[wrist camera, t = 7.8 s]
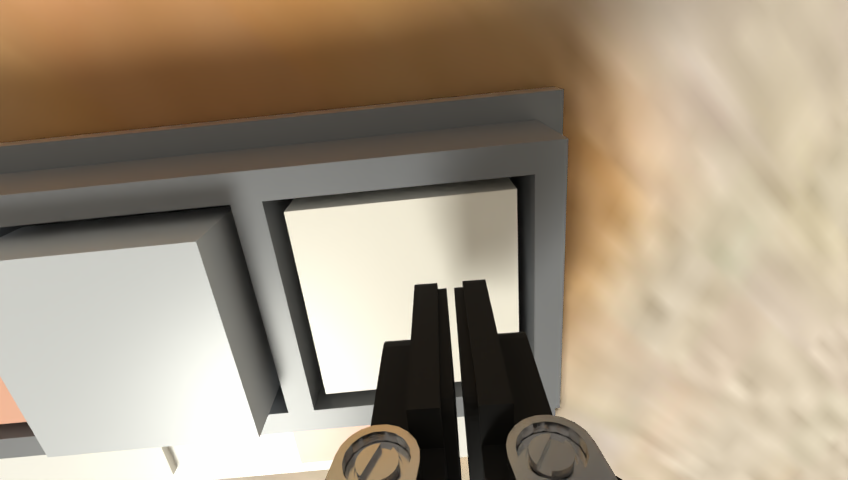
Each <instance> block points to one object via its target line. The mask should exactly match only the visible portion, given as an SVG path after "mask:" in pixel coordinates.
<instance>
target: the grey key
mask: <svg viewBox="0 0 848 480" xmlns="http://www.w3.org/2000/svg"><path fill="white" fill-rule="evenodd" d="M0 377H1V379H2V380H3V382H4V384H5V385H6V387H7V389H8V391H9V392H10V394H11V396H12V397H13V399H14V401H15V402H16V404H17V406H18V408H19V409H20V411H21V413H22V414H23V416H24V418H25V419H26V421H27V423H28V425H29V426H30V428H31V430H32V431H33V433H34V435H35V436H36V438H37V440H38V442H39V443H40V445H41V447H42V448H43V450H44V452H45V454H46V455H47V457H57V456H68V455H79V454H90V453H101V452H112V451H123V450H133V449H144V448H155V447H166V446H177V445H188V444H199V443H210V442H221V441H232V440H243V439H254V438H260V435H261V433H262V430H263V427H264V425H265V422H266V420H267V417H268V415H269V412H270V409H271V407H272V404H273V402H274V399H275V397H276V394H277V391H278V389H279V386H280V381H279V377H278V374H277V370H276V367H275V363H274V360H273V356H272V352H271V349H270V345H269V342H268V338H267V335H266V331H265V327H264V324H263V320H262V317H261V313H260V310H259V306H258V302H257V299H256V295H255V292H254V288H253V285H252V281H251V278H250V274H249V270H248V267H247V263H246V260H245V256H244V253H243V249H242V245H241V242H240V238H239V235H238V231H237V228H236V224H235V220H234V217H233V213H232V210H231V206H228V207H217V208H207V209H197V210H187V211H177V212H167V213H157V214H147V215H137V216H127V217H116V218H106V219H96V220H86V221H76V222H66V223H56V224H46V225H36V226H25V227H21V228H19V229H17V230H15V231H13V232H11V233H8V234H6V235H4V236H2V237H0Z"/></svg>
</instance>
